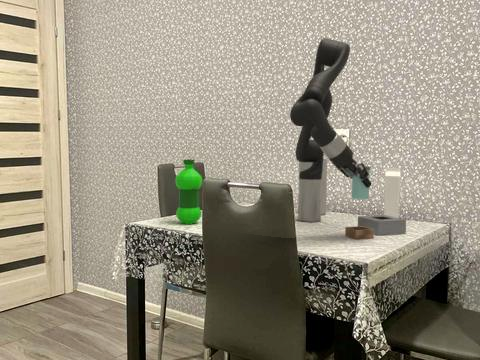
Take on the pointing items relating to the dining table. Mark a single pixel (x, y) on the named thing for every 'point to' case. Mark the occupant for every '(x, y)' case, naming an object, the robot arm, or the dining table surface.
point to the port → (383, 224)
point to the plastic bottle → (188, 193)
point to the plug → (360, 187)
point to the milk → (392, 192)
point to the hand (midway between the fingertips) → (365, 185)
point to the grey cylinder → (307, 165)
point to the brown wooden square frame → (359, 232)
